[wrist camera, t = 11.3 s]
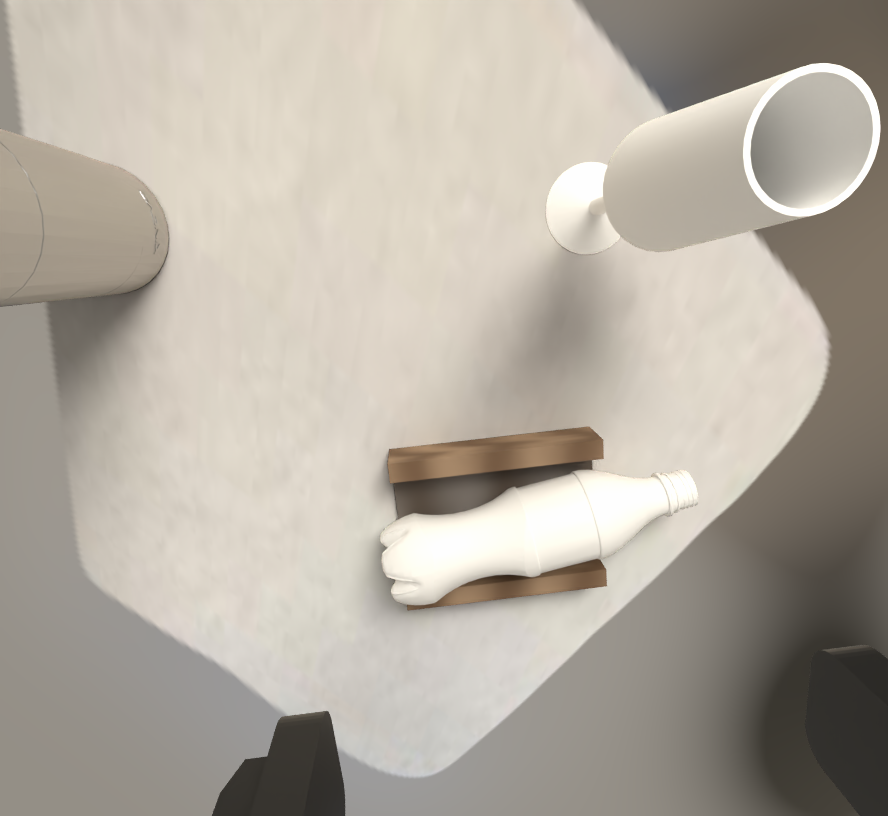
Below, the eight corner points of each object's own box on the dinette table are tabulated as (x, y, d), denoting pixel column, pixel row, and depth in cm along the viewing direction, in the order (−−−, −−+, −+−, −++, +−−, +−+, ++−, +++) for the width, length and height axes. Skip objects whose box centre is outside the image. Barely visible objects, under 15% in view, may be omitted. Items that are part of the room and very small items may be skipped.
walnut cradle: (408, 586, 49) (407, 610, 46) (389, 449, 46) (387, 464, 42) (593, 564, 49) (606, 586, 46) (589, 426, 46) (603, 439, 43)
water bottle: (404, 610, 46) (690, 535, 46) (388, 615, 39) (724, 527, 39) (387, 526, 48) (659, 454, 48) (369, 518, 42) (686, 434, 41)
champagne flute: (643, 173, 41) (942, 57, 18) (617, 263, 43) (861, 265, 19) (558, 152, 40) (754, 3, 17) (535, 244, 42) (687, 223, 19)
